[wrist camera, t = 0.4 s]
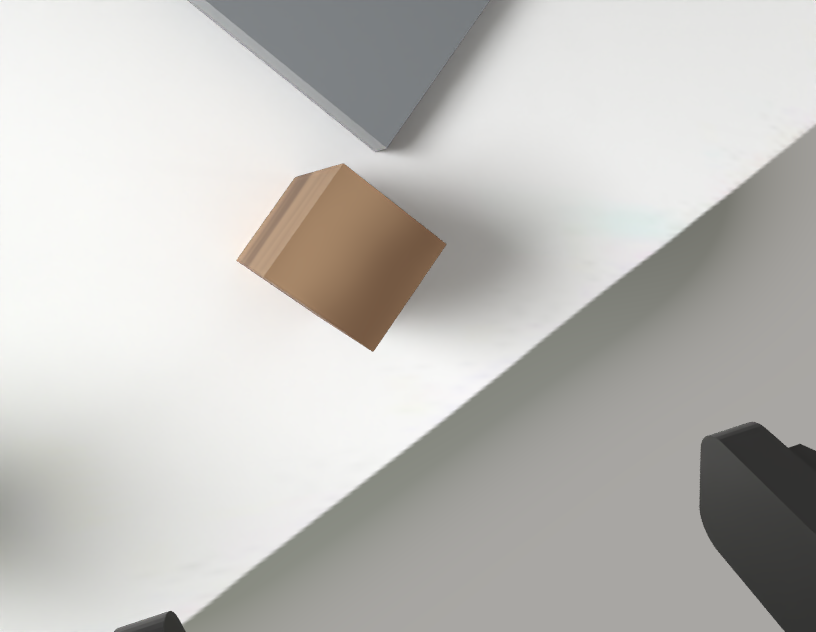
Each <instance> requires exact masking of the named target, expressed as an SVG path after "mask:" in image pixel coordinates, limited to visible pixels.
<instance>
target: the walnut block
mask: <svg viewBox="0 0 816 632" xmlns="http://www.w3.org/2000/svg"><path fill="white" fill-rule="evenodd" d="M445 246H446V243H444V242H443V241H442V240H440V239H439V238H438V237H437V236H435V235H434V234H433V233H432V232H430V231H429V230H428V229H426V228H425V227H424V226H423V225H421V224H420V223H419V222H418V221H416V220H415V219H414V218H412V217H411V216H410V215H409V214H407V213H406V212H405V211H404V210H402V209H401V208H400V207H398V206H397V205H396V204H395V203H393V202H392V201H391V200H389V199H388V198H387V197H386V196H384V195H383V194H382V193H381V192H379V191H378V190H377V189H375V188H374V187H373V186H372V185H370V184H369V183H368V182H367V181H365V180H364V179H363V178H361V177H360V176H359V175H358V174H356V173H355V172H354V171H353V170H351V169H350V168H349V167H347V166H346V165H345V164H344V163H343V164H339V165H336V166H332V167H329V168H326V169H322V170H319V171H315V172H312V173H308V174H305V175H301V176H298V177H295V178H294V180H293V181H292V183H291V184H290V185H289V187H288V188H287V190H286V191H285V192H284V194H283V195H282V197H281V198H280V199H279V201H278V202H277V204H276V205H275V207H274V208H273V209H272V211H271V212H270V214H269V215H268V216H267V218H266V219H265V221H264V222H263V223H262V225H261V226H260V228H259V229H258V231H257V232H256V233H255V235H254V236H253V238H252V239H251V240H250V242H249V243H248V245H247V246H246V248H245V249H244V250H243V252H242V253H241V255H240V256H239V257H238V259H237V260H236V261H238V262H239V263H241V264H242V265H244V266H245V267H247V268H248V269H250V270H251V271H252V272H254V273H255V274H257V275H258V276H260V277H261V278H263V279H264V280H266V281H267V282H269V283H270V284H271V285H273V286H274V287H276V288H277V289H279V290H280V291H282V292H283V293H285V294H286V295H288V296H289V297H290V298H292V299H293V300H295V301H296V302H298V303H299V304H301V305H302V306H304V307H305V308H307V309H308V310H310V311H311V312H312V313H314V314H315V315H317V316H318V317H320V318H321V319H323V320H324V321H326V322H328V323H329V324H331V325H332V326H334V327H335V328H337V329H338V330H340V331H341V332H343V333H345V334H346V335H348V336H349V337H351V338H352V339H354V340H355V341H357V342H359V343H360V344H362V345H363V346H365V347H366V348H368V349H369V350H371V351H372V352H373V351H374V350H375V349H376V347H377V346H378V344H379V343H380V341H381V340H382V338H383V337H384V335H385V334H386V332H387V331H388V329H389V328H390V327H391V325H392V324H393V322H394V321H395V319H396V318H397V316H398V315H399V313H400V312H401V310H402V309H403V307H404V306H405V305H406V303H407V302H408V300H409V299H410V297H411V296H412V294H413V293H414V291H415V290H416V288H417V287H418V285H419V284H420V283H421V281H422V280H423V278H424V277H425V275H426V274H427V272H428V271H429V269H430V268H431V266H432V265H433V263H434V262H435V260H436V259H437V258H438V256H439V255H440V253H441V252H442V250H443V249H444V247H445Z"/></svg>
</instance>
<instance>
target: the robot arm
mask: <svg viewBox="0 0 816 632" xmlns="http://www.w3.org/2000/svg"><path fill="white" fill-rule="evenodd" d="M700 515H701V519H702V522H703V525H704V528H705V530H706V532H707V534H708V537H709V538H710V540H711V542H712V543H713V545H714V547H715V548H716V549H717V550H718V552H719V553H720V554H721V555H722V557H723V558H724V559H725V560H726V561H727V563H728V564H729V565H730V566H731V567H732V568H733V570H734V571H735V572H736V573H737V574H738V576H739V577H740V578H741V579H742V581H743V582H744V583H745V584H746V585H747V586H748V588H749V589H750V590H751V591H752V593H753V594H754V595H755V596H756V597H757V599H758V600H759V601H760V602H761V603H762V605H763V606H764V607H765V608H766V609H767V611H768V612H769V613H770V614H771V615H772V617H773V618H774V619H775V620H776V621H777V623H778V624H779V625H780V626H781V628H782V629H783V630H784V631H785V632H816V451H815V450H812V449H810V448H808V447H806V446H803V445H801V444H799V445H796V446H793V447H790V448H788V447H786V446H785V445H784V444H783V443H782V442H781V441H779V440H778V439H777V438H776V437H775V436H774V435H773V434H771V433H770V432H769V431H768V430H767V429H766V428H764V427H763V426H762V425H760V424H758V423H756V422H749V423H746V424H743V425H739V426H736V427H733V428H730V429H728V430H725V431H721V432H718V433H715V434H712V435H709V436H706V437H705V438H704V439H703V440H702V443H701V462H700ZM114 632H185V630H184V628H183V626H182V624H181V622H180V620H179V619H178V617H177V615H176V614H175V613H174V612H172V611H169V612H166V613H162V614H159V615H156V616H153V617H150V618H147V619H144V620H141V621H138V622H135V623H132V624H129V625H126V626H123V627H120V628H117V629H116V630H115V631H114Z"/></svg>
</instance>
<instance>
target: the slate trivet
mask: <svg viewBox="0 0 816 632" xmlns="http://www.w3.org/2000/svg"><path fill="white" fill-rule="evenodd" d="M188 1H189V2H190V3H192V4H193V5H194V6H195V7H197V8H198V9H199V10H200V11H201V12H203V13H204V14H205V15H206V16H208V17H209V18H210V19H211V20H213V21H214V22H215V23H216V24H218V25H219V26H220V27H221V28H223V29H224V30H225V31H226V32H227V33H229V34H230V35H231V36H232V37H234V38H235V39H236V40H237V41H239V42H240V43H241V44H242V45H244V46H245V47H246V48H247V49H249V50H250V51H251V52H252V53H254V54H255V55H256V56H257V57H258V58H260V59H261V60H262V61H263V62H265V63H266V64H267V65H268V66H270V67H271V68H272V69H273V70H275V71H276V72H277V73H278V74H280V75H281V76H282V77H283V78H284V79H286V80H287V81H288V82H289V83H291V84H292V85H293V86H294V87H296V88H297V89H298V90H299V91H301V92H302V93H303V94H304V95H306V96H307V97H308V98H309V99H311V100H312V101H313V102H314V103H315V104H317V105H318V106H319V107H320V108H322V109H323V110H324V111H325V112H327V113H328V114H329V115H330V116H332V117H333V118H334V119H335V120H337V121H338V122H339V123H340V124H341V125H343V126H344V127H345V128H346V129H348V130H349V131H350V132H351V133H353V134H354V135H355V136H356V137H358V138H359V139H360V140H361V141H363V142H364V143H365V144H366V145H368V146H369V147H370V148H371V149H372V150H374V151H375V152H376V151H379V150H383V149H386V148H387V147H388V146H389V144H390V143H391V141H392V140H393V139H394V137H395V136H396V134H397V133H398V131H399V130H400V129H401V127H402V126H403V124H404V123H405V121H406V120H407V119H408V117H409V116H410V114H411V113H412V111H413V110H414V109H415V107H416V106H417V104H418V103H419V101H420V100H421V99H422V97H423V96H424V94H425V93H426V91H427V90H428V89H429V87H430V86H431V84H432V83H433V81H434V80H435V78H436V77H437V76H438V74H439V73H440V71H441V70H442V68H443V67H444V66H445V64H446V63H447V61H448V60H449V58H450V57H451V56H452V54H453V53H454V51H455V50H456V48H457V47H458V46H459V44H460V43H461V41H462V40H463V38H464V37H465V36H466V34H467V33H468V31H469V30H470V28H471V27H472V25H473V24H474V23H475V21H476V20H477V18H478V17H479V15H480V14H481V13H482V11H483V10H484V8H485V7H486V5H487V4H488V3H489V1H490V0H188Z"/></svg>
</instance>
